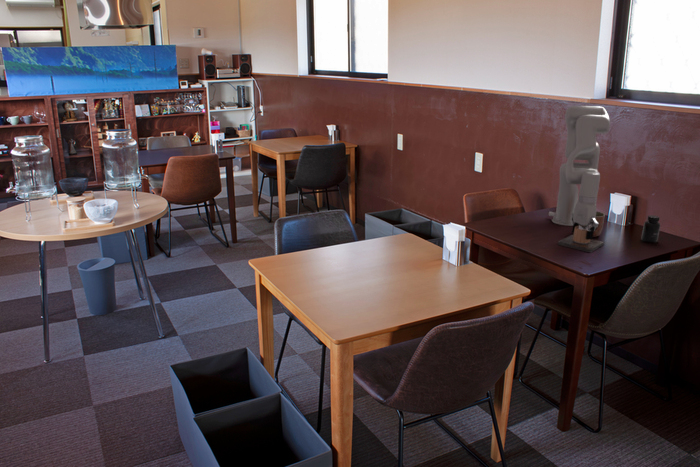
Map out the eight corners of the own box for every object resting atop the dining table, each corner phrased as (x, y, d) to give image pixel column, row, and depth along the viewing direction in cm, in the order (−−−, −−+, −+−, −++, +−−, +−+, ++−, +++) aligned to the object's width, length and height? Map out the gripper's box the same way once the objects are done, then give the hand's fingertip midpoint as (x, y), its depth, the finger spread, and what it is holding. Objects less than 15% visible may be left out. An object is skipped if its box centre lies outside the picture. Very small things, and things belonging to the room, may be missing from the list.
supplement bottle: (655, 244, 252) (660, 219, 248) (639, 241, 256) (644, 216, 252) (658, 240, 257) (663, 216, 253) (642, 237, 261) (646, 213, 257)
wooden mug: (579, 243, 245) (581, 230, 243) (569, 238, 252) (571, 226, 250) (594, 242, 247) (596, 229, 245) (584, 237, 254) (586, 225, 252)
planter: (607, 237, 261) (611, 215, 258) (587, 240, 257) (590, 217, 253) (587, 230, 272) (591, 208, 269) (568, 232, 268) (571, 211, 264)
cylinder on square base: (557, 244, 250) (560, 224, 247) (571, 237, 260) (574, 218, 257) (590, 252, 240) (593, 232, 237) (603, 245, 250) (607, 225, 247)
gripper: (568, 195, 250) (563, 230, 255) (593, 204, 234) (587, 242, 240) (582, 194, 252) (576, 229, 257) (608, 203, 236) (602, 241, 241)
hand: (582, 235), depth 248 cm, fingers open, 9 cm apart
